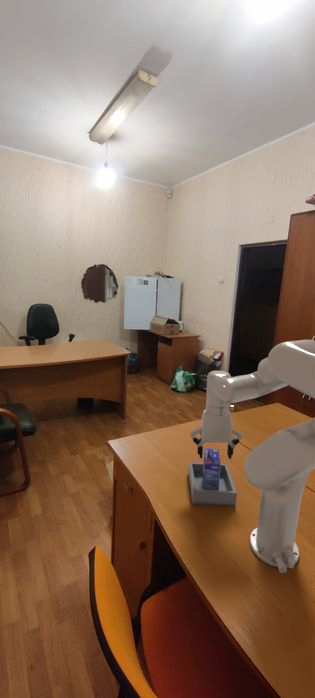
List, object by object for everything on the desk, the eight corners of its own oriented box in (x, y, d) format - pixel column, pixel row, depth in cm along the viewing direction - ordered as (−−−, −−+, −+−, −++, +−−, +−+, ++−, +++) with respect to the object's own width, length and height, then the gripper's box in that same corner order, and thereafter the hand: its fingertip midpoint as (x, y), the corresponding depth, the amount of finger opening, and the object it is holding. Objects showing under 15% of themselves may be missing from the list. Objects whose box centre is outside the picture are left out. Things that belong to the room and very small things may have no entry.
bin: (235, 506, 97) (236, 493, 96) (192, 504, 98) (193, 491, 96) (225, 475, 113) (226, 463, 112) (188, 473, 113) (189, 462, 112)
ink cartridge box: (201, 477, 110) (204, 441, 107) (217, 479, 109) (220, 443, 106) (202, 495, 101) (205, 457, 97) (218, 498, 100) (222, 459, 97)
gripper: (241, 405, 102) (237, 451, 105) (190, 403, 102) (188, 450, 105) (247, 413, 95) (243, 463, 98) (192, 412, 95) (190, 461, 98)
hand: (214, 456), depth 102 cm, fingers open, 9 cm apart
